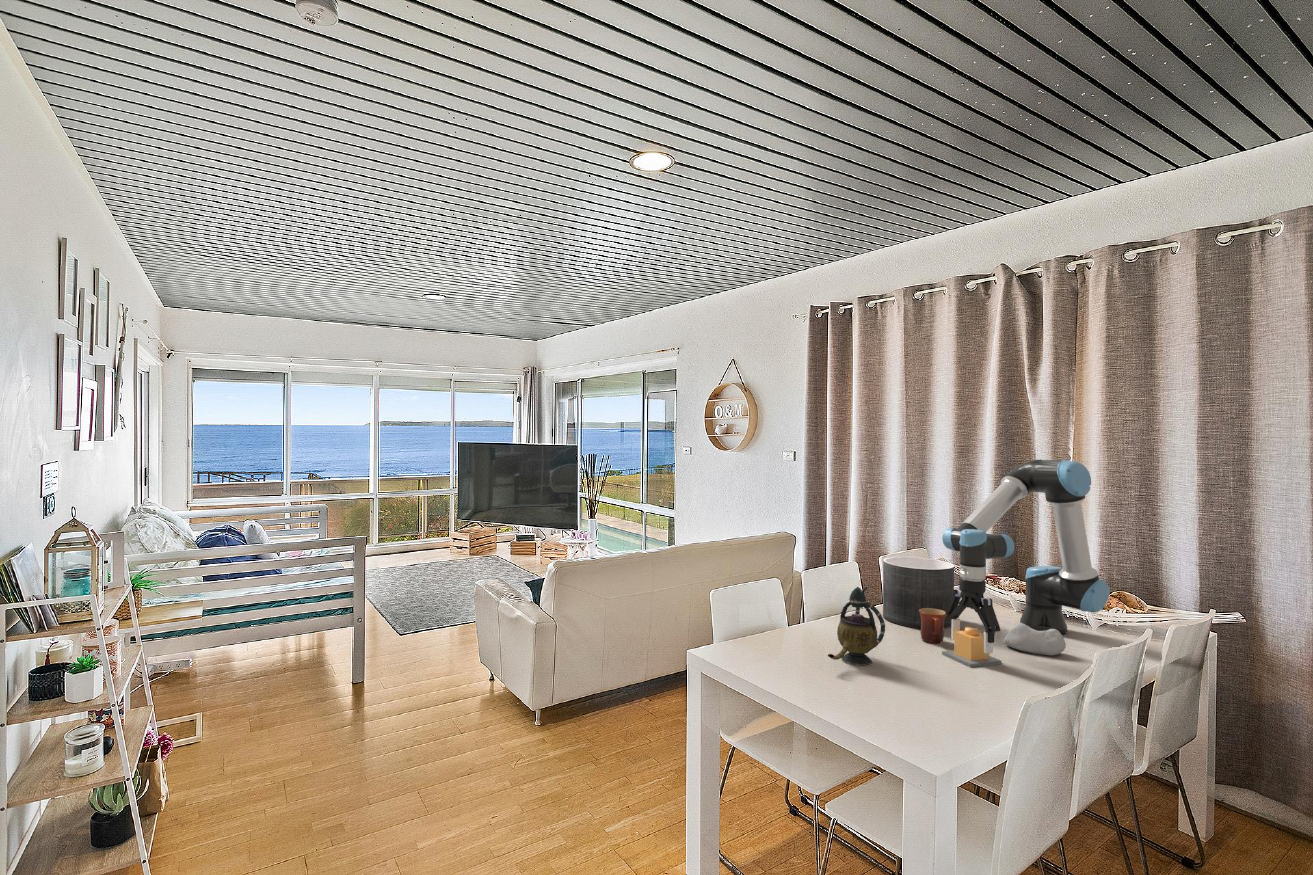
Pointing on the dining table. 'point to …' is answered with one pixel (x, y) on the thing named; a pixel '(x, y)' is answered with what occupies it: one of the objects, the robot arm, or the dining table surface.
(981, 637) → the orange cube with dome
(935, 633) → the mug
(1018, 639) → the decorative stone
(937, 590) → the planter
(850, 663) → the teapot
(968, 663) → the plate
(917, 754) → the dining table surface
